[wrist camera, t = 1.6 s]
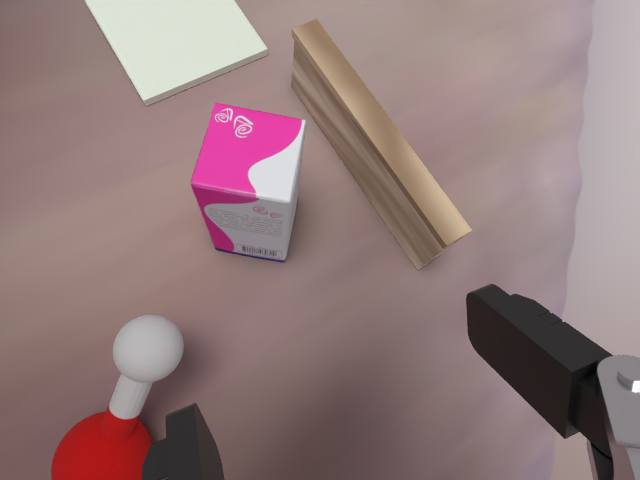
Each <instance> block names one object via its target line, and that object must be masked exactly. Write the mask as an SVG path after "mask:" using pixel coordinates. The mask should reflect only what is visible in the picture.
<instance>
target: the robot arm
mask: <svg viewBox="0 0 640 480" xmlns="http://www.w3.org/2000/svg"><path fill="white" fill-rule="evenodd" d="M466 304H467V325H468V336H469V339H470V342H471V344H472V346H473V348H474V349H475V350H476V352H477V353H478V354H479V355H480V356H481V357H482V358H483V359H484V360H485V361H486V362H487V363H488V364H489V365H490V366H491V367H492V368H493V369H494V370H495V371H496V372H497V373H498V374H499V375H500V376H501V377H502V378H503V379H504V380H505V381H506V382H507V383H508V384H509V385H510V386H512V387H513V388H514V389H515V390H516V391H517V392H518V393H519V394H520V395H521V396H522V397H523V398H524V399H525V400H526V401H527V402H528V403H529V404H530V405H531V406H532V407H533V408H534V409H535V410H536V411H537V412H538V413H539V414H540V415H541V416H542V417H543V418H544V419H545V420H546V421H547V422H548V423H549V424H550V425H551V426H552V427H553V428H554V429H555V430H556V431H557V432H558V433H559V434H560V435H561V436H562V437H563V438H564V439H566V438H568V437H570V436H572V435H574V434H576V433H578V432H581V433H582V434H583V435H584V436H585V437H586V438H587V450H588V455H589V460H590V465H591V470H592V475H593V480H640V358H638V357H634V356H628V355H615V356H613V355H612V354H610V353H609V352H607V351H606V350H604V349H603V348H601V347H600V346H599V345H597V344H596V343H594V342H593V341H591V340H590V339H589V338H587V337H586V336H584V335H583V334H582V333H580V332H579V331H577V330H576V329H574V328H573V327H572V326H570V325H569V324H567V323H566V322H562V319H560V318H559V317H557V316H556V315H554V314H553V313H550V311H549V310H547V309H546V308H545V307H543V306H542V305H540V304H539V303H537V302H536V301H535V300H532V299H529V298H526V297H523V296H521V295H518V294H513V295H511V296H510V295H509V294H507V293H506V292H505V291H503V290H502V289H500V288H499V287H498V286H496V285H494V284H490V285H487V286H485V287H482V288H480V289H477V290H475V291H473V292H470V293H468V294H467V297H466ZM142 480H224V475H223V469H222V463H221V459H220V455H219V452H218V449H217V446H216V443H215V441H214V438H213V436H212V434H211V432H210V430H209V428H208V426H207V424H206V422H205V420H204V418H203V416H202V414H201V412H200V410H199V408H198V406H197V404H196V403H194V404H192V405H189V406H187V407H184V408H182V409H180V410H177V411H175V412H172V413H170V414H167V415H166V438H165V439H163V440H160V441H158V442H156V443H153V444H151V445H150V448H149V450H148V453H147V455H146V458H145V460H144V462H143V465H142Z"/></svg>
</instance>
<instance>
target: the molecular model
mask: <svg viewBox="0 0 640 480" xmlns="http://www.w3.org/2000/svg"><path fill="white" fill-rule="evenodd" d="M183 350H184V342H183V337H182V334H181V332H180V330H179V328H178V327H177V326H176V325H175V324H174V323H173V322H172V321H171V320H169V319H167V318H165V317H163V316H159V315H143V316H140V317H137V318H135V319H133V320H131V321H129V322H128V323H127V324H126V325H124V326H123V327H122V329H121V330H120V331H119V333H118V334H117V336H116V338H115V341H114V345H113V358H114V362H115V364H116V366H117V368H118V370H119V371H120V372H121V375H120V377H119V380H118V383H117V385H116V388H115V390H114V393H113V396H112V398H111V401H110V403H109V406H108V409H107V411H106V412H101V413H97V414H94V415H92V416H89V417H87V418H85V419H84V420H82V421H80V422H79V423H77V424H76V425H75V426H74V427H73V428H72V429H71V430H70V431H69V432H68V433H67V434H66V435H65V436H64V438H63V439H62V440H61V442H60V444H59V446H58V447H57V450H56V452H55V455H54V458H53V462H52V470H51V473H52V480H142V465H143V462H144V460H145V458H146V455H147V453H148V450H149V448H150V445H151V444H152V441H151V438H150V435H149V433H148V431H147V429H146V428H145V427H144V425H143V424H142V423H141V422H140V421H139V420H138V417H139V415H140V413H141V410H142V408H143V405H144V403H145V401H146V398H147V396H148V393H149V391H150V389H151V386H152V384H153V382H155V381H158V380H161V379H163V378H165V377H166V376H168V375H169V374H170V373H172V372H173V371H174V370H175V368H176V367H177V366H178V364H179V362H180V360H181V358H182V355H183Z"/></svg>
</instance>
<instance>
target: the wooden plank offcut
mask: <svg viewBox="0 0 640 480" xmlns="http://www.w3.org/2000/svg"><path fill="white" fill-rule="evenodd" d="M292 37H293V38H294V40H295V43H294V58H293V72H292V88H293V89H294V91H295V92H296V94H297V95H298V97H299V98H300V100H301V101H302V103H303V104H304V105H305V107H306V108H307V110H308V111H309V113H310V114H311V116H312V117H313V119H314V120H315V121H316V123H317V124H318V126H319V127H320V129H321V130H322V132H323V133H324V135H325V136H326V138H327V139H328V140H329V142H330V143H331V145H332V146H333V148H334V149H335V151H336V152H337V154H338V155H339V156H340V158H341V159H342V161H343V162H344V164H345V165H346V167H347V168H348V170H349V171H350V173H351V174H352V175H353V177H354V178H355V180H356V181H357V183H358V184H359V186H360V187H361V189H362V190H363V191H364V193H365V194H366V196H367V197H368V199H369V200H370V202H371V203H372V205H373V206H374V208H375V209H376V210H377V212H378V213H379V215H380V216H381V218H382V219H383V221H384V222H385V224H386V225H387V227H388V228H389V229H390V231H391V232H392V234H393V235H394V237H395V238H396V240H397V241H398V243H399V244H400V245H401V247H402V248H403V250H404V251H405V253H406V254H407V256H408V257H409V259H410V260H411V262H412V263H413V264H414V266H415V267H416V269H417V270H419V269H420V268H422V267H423V266H425V265H427V264H428V263H430V262H432V261H433V260H434V259H436V258H437V257H438V256H439V255H441V254H442V253H443V252H444V251H446V250H447V249H448V248H450V247H451V246H452V245H453V244H455V243H456V242H457V241H458V240H460V239H461V238H462V237H463V236H465V235H466V234H468V233H469V232H470V231H472V230H471V228H470V227H469V226H468V224H467V223H466V222H465V220H464V219H463V218H462V216H461V215H460V214H459V212H458V211H457V209H456V208H455V207H454V205H453V204H452V203H451V201H450V200H449V199H448V197H447V196H446V194H445V193H444V192H443V190H442V189H441V188H440V186H439V185H438V184H437V182H436V181H435V179H434V178H433V177H432V175H431V174H430V173H429V171H428V170H427V169H426V167H425V166H424V164H423V163H422V162H421V160H420V159H419V158H418V156H417V155H416V154H415V152H414V151H413V149H412V148H411V147H410V145H409V144H408V143H407V141H406V140H405V139H404V137H403V136H402V135H401V133H400V132H399V130H398V129H397V128H396V126H395V125H394V124H393V122H392V121H391V120H390V118H389V117H388V115H387V114H386V113H385V111H384V110H383V109H382V107H381V106H380V105H379V103H378V102H377V100H376V99H375V98H374V96H373V95H372V94H371V92H370V91H369V90H368V88H367V87H366V85H365V84H364V83H363V81H362V80H361V79H360V77H359V76H358V75H357V73H356V72H355V70H354V69H353V68H352V66H351V65H350V64H349V62H348V61H347V60H346V58H345V57H344V56H343V54H342V53H341V51H340V50H339V49H338V47H337V46H336V45H335V43H334V42H333V41H332V39H331V38H330V36H329V35H328V34H327V32H326V31H325V30H324V28H323V27H322V26H321V24H320V23H319V21H318V20H317V19H315V20H313V21H311V22H308V23H306V24H303V25H301V26H298V27H296V28H294V29H292Z"/></svg>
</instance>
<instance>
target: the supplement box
mask: <svg viewBox="0 0 640 480" xmlns="http://www.w3.org/2000/svg"><path fill="white" fill-rule="evenodd" d="M305 128H306V121H305V120H302V119H297V118H292V117H287V116H282V115H276V114H271V113H266V112H261V111H255V110H250V109H245V108H240V107H235V106H230V105H225V104H219V103H215V104H214V108H213V111H212V114H211V118H210V121H209V125H208V128H207V131H206V134H205V138H204V141H203V144H202V147H201V150H200V153H199V157H198V160H197V163H196V166H195V170H194V173H193V176H192V179H191V182H190V184H191V187H192V189H193V192H194V194H195V197H196V199H197V201H198V204H199V207H200V210H201V212H202V215H203V218H204V220H205V223H206V225H207V228H208V230H209V233H210V235H211V238H212V241H213V244H214V247H215V249H217V250H220V251H225V252H230V253H235V254H240V255H246V256H251V257H256V258H262V259H268V260H273V261H279V262H285V260H286V256H287V252H288V247H289V242H290V237H291V232H292V227H293V222H294V217H295V212H296V207H297V201H298V190H299V181H300V173H301V164H302V154H303V146H304V137H305Z"/></svg>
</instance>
